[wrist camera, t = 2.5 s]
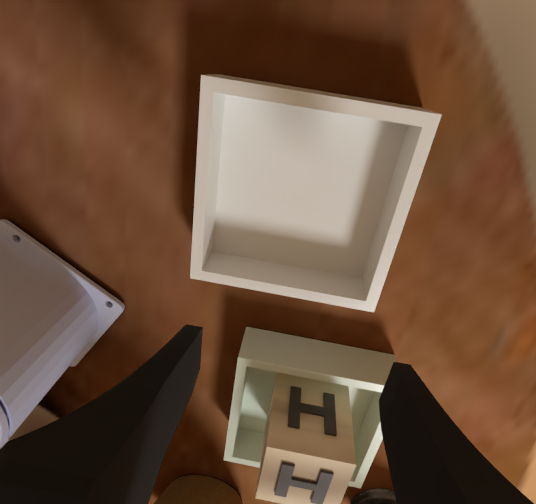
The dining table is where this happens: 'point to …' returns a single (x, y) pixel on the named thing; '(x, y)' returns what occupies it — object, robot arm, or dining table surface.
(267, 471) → the letter block
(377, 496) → the salt shaker
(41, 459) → the robot arm
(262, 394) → the sage tray
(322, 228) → the white tray
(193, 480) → the plant pot
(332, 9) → the dining table surface
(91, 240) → the dining table surface
